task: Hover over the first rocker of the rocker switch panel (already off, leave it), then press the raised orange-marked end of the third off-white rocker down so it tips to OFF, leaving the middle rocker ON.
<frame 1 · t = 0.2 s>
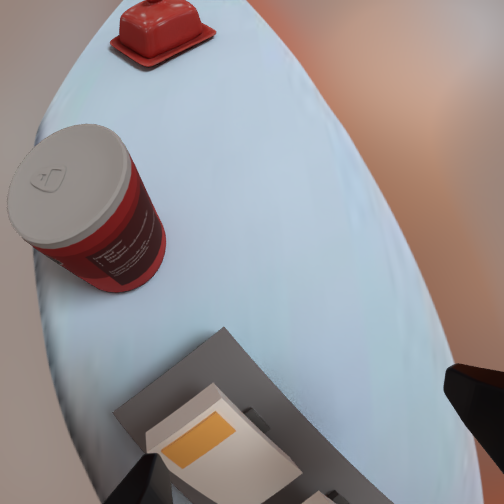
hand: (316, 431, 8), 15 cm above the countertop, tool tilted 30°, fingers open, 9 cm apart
butter dish: (162, 43, 35), on the countertop
rocker switch panel: (298, 496, 18), on the countertop
canned food: (122, 250, 25), on the countertop
rocker 3: (227, 459, 13), point 7 cm above the countertop, hinge at 25.0°
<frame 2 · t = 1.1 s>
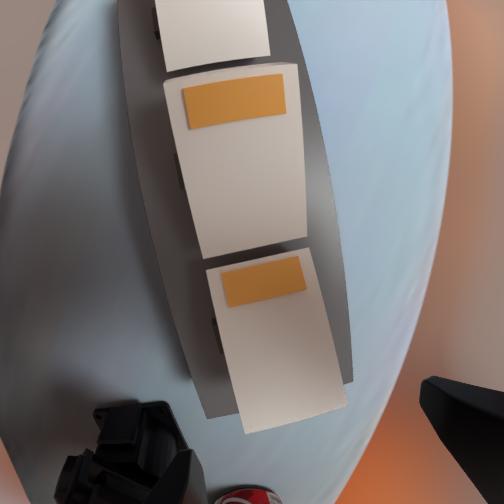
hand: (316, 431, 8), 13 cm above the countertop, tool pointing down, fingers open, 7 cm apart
soda can: (246, 499, 25), on the countertop
rocker switch panel: (228, 168, 19), on the countertop
rocker 1: (276, 341, 13), point 7 cm above the countertop, hinge at -25.0°
rocker 2: (241, 160, 12), point 7 cm above the countertop, hinge at 25.0°
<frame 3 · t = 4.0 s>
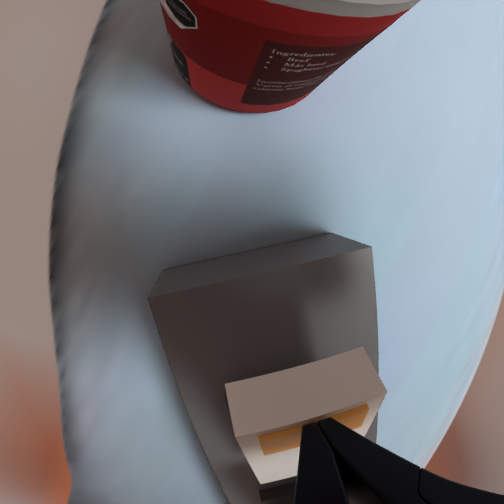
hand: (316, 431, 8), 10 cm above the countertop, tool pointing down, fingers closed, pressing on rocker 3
rocker switch panel: (287, 440, 19), on the countertop
canned food: (247, 53, 15), on the countertop
rocker 3: (304, 434, 10), point 7 cm above the countertop, hinge at 24.5°, touching gripper
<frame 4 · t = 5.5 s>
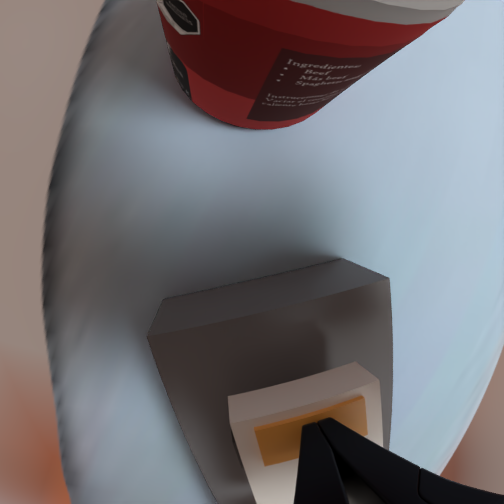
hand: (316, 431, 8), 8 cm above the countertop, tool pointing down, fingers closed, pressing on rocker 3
rocker switch panel: (294, 468, 17), on the countertop
canned food: (252, 63, 14), on the countertop
rocker 3: (316, 472, 9), point 7 cm above the countertop, hinge at -8.6°, touching gripper
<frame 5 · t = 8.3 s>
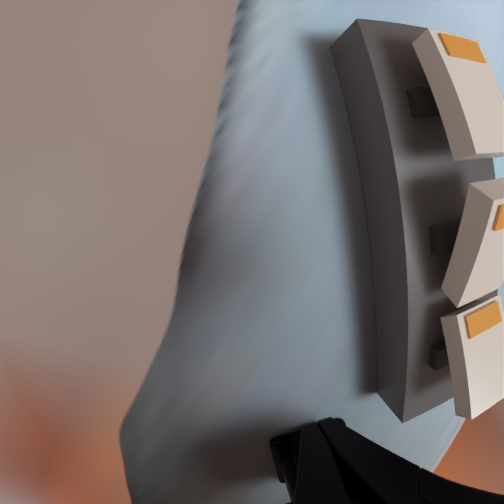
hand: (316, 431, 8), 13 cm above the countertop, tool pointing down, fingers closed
rocker switch panel: (419, 224, 21), on the countertop
rocker 1: (481, 356, 16), point 7 cm above the countertop, hinge at -25.0°
rocker 2: (490, 243, 14), point 7 cm above the countertop, hinge at 25.0°
rocker 3: (471, 93, 12), point 7 cm above the countertop, hinge at -8.8°
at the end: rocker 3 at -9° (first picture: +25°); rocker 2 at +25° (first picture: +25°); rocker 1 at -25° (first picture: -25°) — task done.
